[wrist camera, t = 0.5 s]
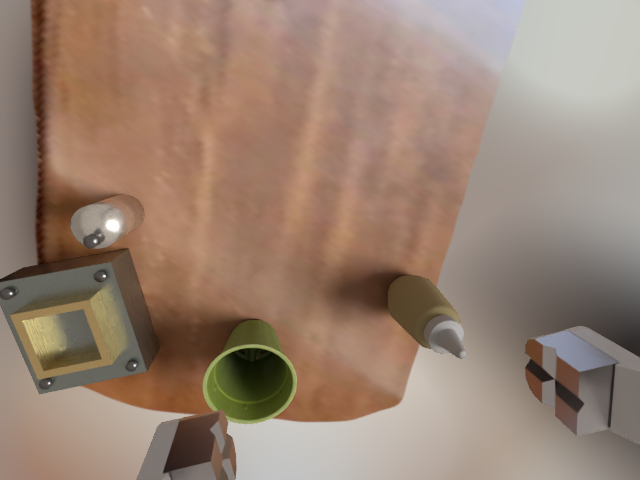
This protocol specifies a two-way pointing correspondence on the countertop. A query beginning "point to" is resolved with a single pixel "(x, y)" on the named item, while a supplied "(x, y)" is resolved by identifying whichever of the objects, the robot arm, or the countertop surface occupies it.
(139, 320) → the grey square housing block
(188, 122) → the countertop surface
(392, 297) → the squeeze bottle
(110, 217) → the spout can
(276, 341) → the plant pot
